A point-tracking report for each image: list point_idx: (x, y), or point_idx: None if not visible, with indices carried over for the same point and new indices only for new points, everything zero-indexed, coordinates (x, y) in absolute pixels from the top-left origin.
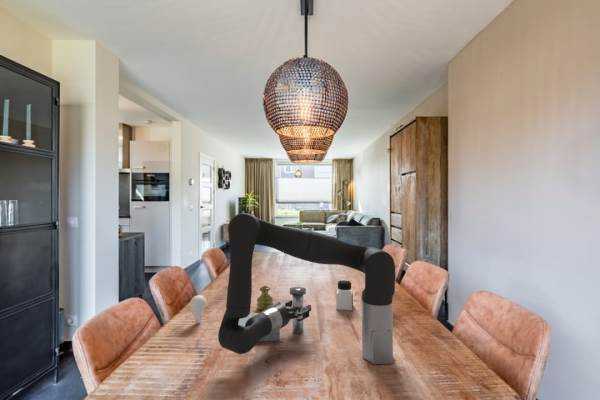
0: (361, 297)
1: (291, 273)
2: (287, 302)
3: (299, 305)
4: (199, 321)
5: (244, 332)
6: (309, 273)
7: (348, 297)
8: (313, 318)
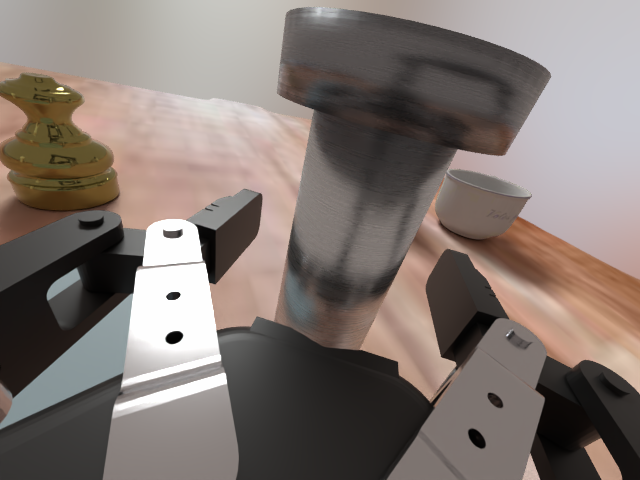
0: (463, 183)
1: (186, 101)
2: (225, 220)
3: (391, 271)
4: None
5: None
6: (229, 109)
7: None
8: None
